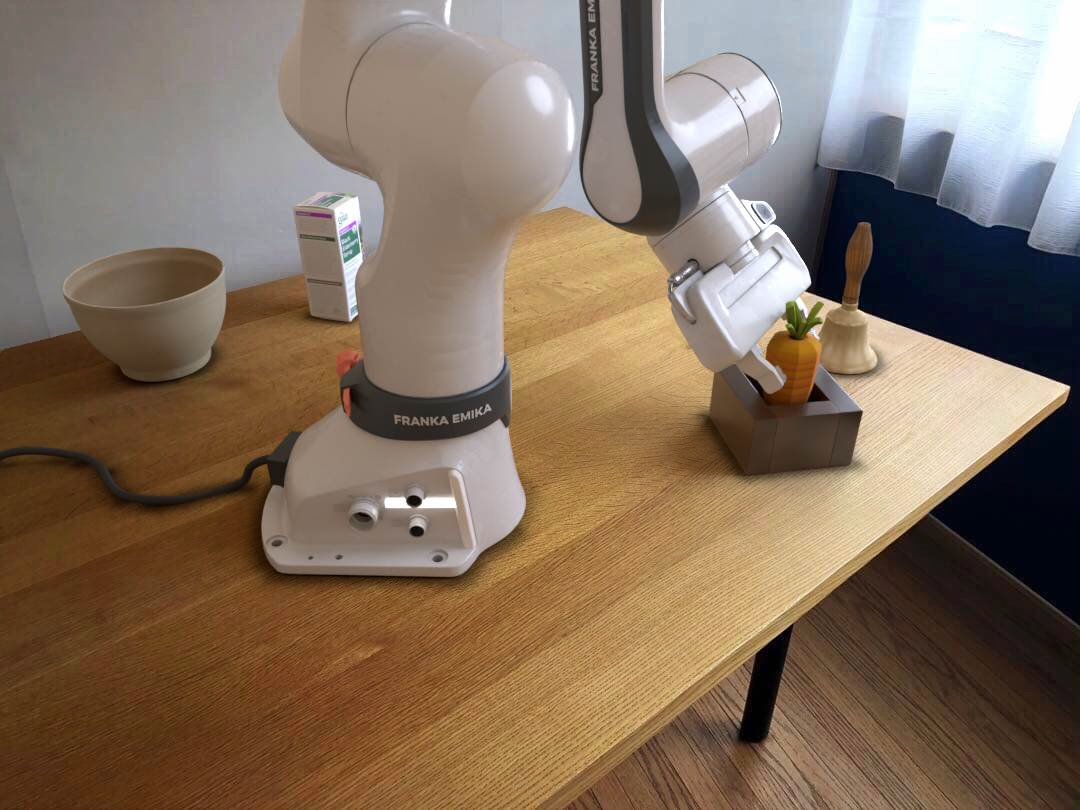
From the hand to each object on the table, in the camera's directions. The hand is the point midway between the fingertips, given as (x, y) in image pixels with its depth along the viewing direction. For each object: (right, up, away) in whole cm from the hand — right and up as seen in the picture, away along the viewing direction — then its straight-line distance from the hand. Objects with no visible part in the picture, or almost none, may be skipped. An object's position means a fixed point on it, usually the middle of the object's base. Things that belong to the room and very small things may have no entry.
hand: (796, 366), depth 80 cm
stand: (-1, -7, +5) cm, 8 cm away
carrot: (0, -7, +5) cm, 9 cm away
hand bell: (+11, +2, +19) cm, 22 cm away
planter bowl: (-66, +1, +18) cm, 68 cm away
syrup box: (-49, +8, +30) cm, 58 cm away
